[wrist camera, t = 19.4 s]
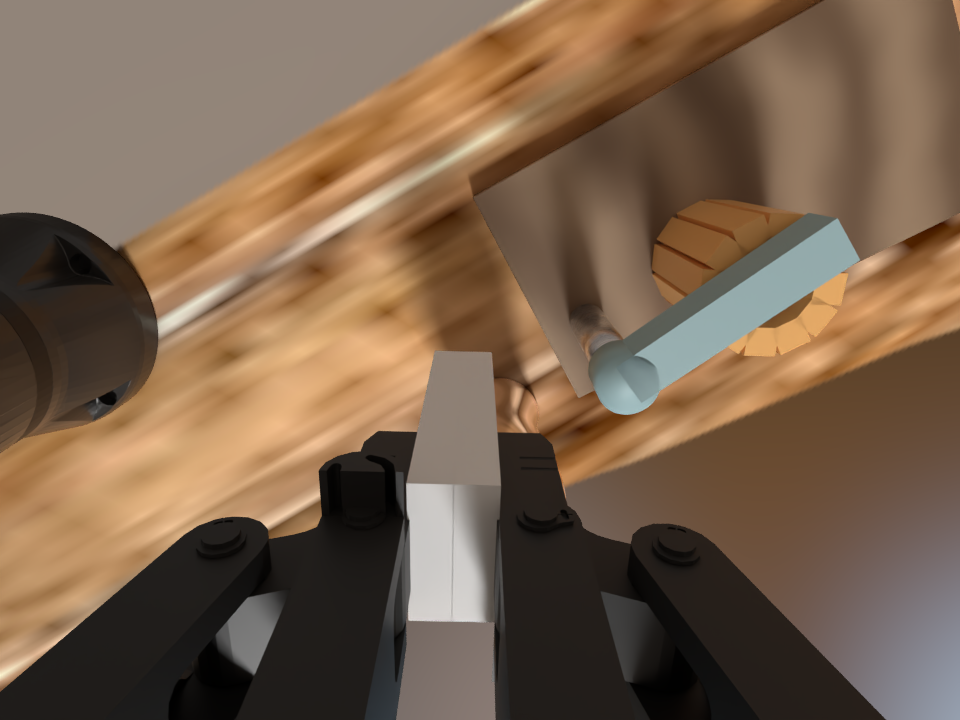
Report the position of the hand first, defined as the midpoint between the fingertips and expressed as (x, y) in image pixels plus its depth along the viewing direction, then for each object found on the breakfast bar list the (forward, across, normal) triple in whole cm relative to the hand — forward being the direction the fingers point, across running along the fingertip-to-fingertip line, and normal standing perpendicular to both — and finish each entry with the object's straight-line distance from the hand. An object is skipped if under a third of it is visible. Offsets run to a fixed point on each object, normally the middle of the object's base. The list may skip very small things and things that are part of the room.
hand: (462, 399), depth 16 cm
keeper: (+15, +12, -1) cm, 20 cm away
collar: (+25, +16, 0) cm, 30 cm away
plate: (+26, +17, +4) cm, 32 cm away
